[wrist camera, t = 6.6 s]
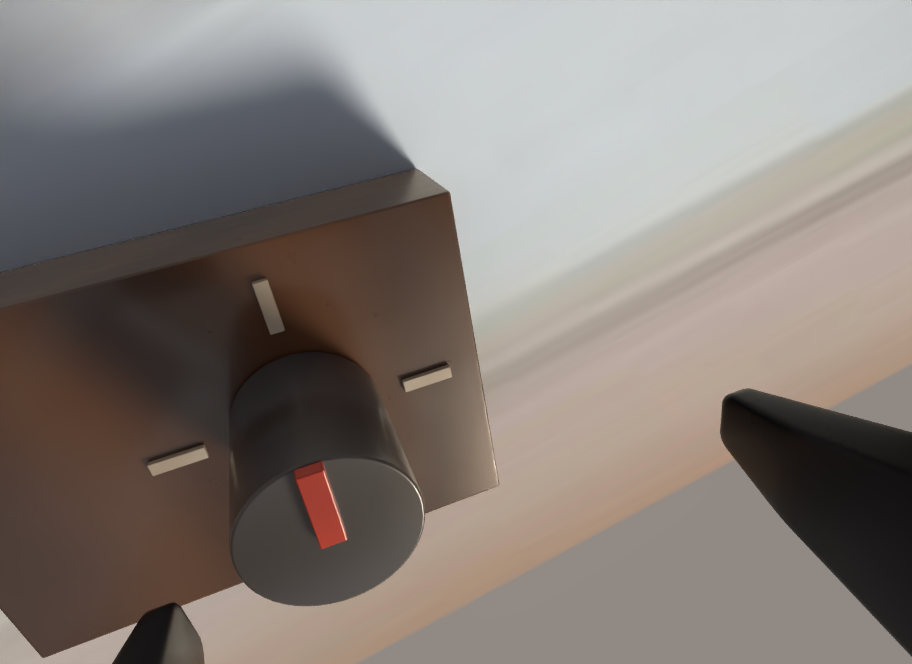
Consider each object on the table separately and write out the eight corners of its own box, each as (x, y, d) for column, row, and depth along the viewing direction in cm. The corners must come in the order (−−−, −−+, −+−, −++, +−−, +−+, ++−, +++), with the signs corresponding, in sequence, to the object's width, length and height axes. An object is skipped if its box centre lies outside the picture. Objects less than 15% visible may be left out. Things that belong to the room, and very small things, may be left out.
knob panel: (417, 167, 17) (452, 192, 15) (468, 434, 22) (501, 489, 19) (-134, 304, 14) (-217, 367, 12) (66, 577, 19) (40, 664, 17)
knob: (393, 449, 17) (443, 575, 13) (256, 495, 17) (265, 645, 13) (364, 332, 16) (411, 438, 11) (206, 377, 15) (198, 510, 11)
